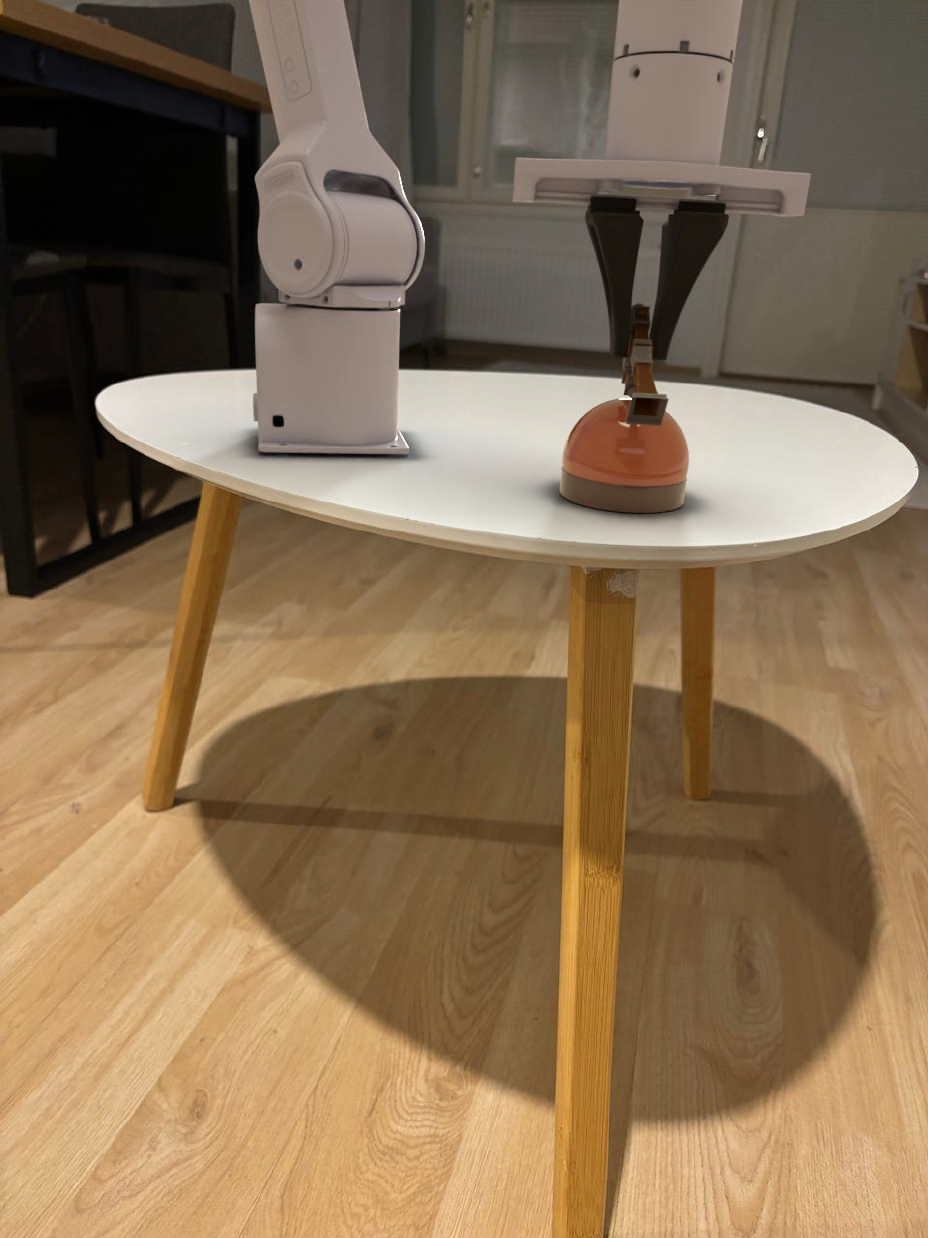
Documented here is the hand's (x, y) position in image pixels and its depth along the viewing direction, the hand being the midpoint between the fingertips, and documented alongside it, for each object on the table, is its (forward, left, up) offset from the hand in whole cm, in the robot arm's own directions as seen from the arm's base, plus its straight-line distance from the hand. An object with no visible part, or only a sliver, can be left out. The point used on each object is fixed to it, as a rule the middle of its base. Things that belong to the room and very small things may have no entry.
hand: (637, 356), depth 49 cm
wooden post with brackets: (-1, -1, -2) cm, 3 cm away
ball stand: (0, 0, -9) cm, 9 cm away
